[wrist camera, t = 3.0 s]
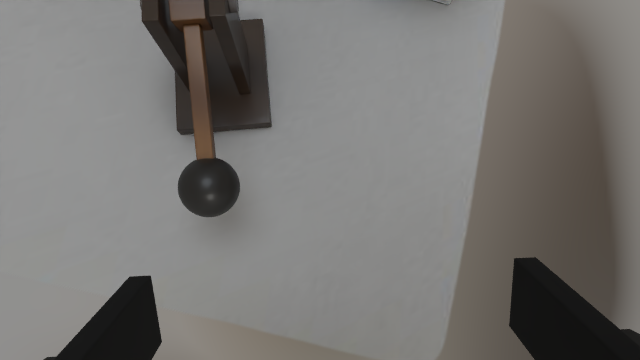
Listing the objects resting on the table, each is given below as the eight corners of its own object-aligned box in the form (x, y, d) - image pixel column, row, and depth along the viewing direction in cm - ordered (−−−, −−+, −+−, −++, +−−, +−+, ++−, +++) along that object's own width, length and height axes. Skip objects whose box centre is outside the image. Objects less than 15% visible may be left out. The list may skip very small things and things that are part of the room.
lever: (246, 210, 30) (238, 218, 26) (190, 215, 30) (173, 224, 26) (224, -8, 29) (213, -34, 25) (166, -4, 29) (145, -30, 25)
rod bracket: (271, 127, 37) (253, 56, 25) (180, 134, 37) (115, 66, 24) (263, 25, 39) (243, -88, 27) (177, 31, 39) (115, -81, 26)
